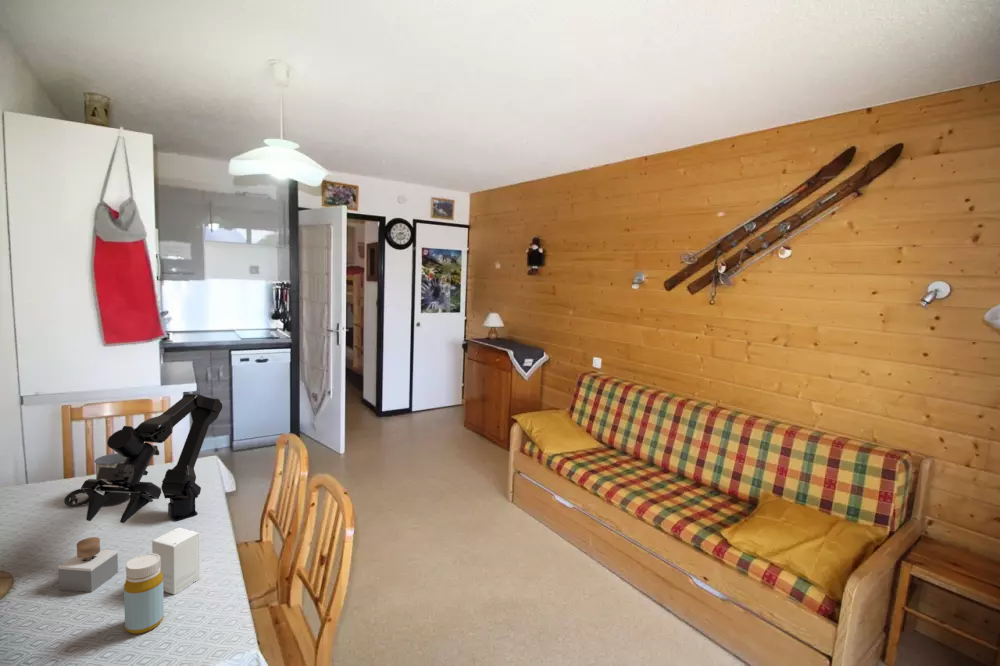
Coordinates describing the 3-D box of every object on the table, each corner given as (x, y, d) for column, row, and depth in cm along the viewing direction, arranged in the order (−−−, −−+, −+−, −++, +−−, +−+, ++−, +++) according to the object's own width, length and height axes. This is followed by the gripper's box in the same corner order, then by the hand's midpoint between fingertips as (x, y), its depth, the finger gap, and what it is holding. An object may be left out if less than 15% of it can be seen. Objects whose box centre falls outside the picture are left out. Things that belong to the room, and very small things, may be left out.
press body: (87, 570, 128) (86, 548, 127) (117, 572, 128) (117, 550, 127) (59, 589, 120) (58, 566, 119) (91, 592, 120) (90, 568, 119)
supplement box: (201, 578, 127) (200, 532, 126) (173, 595, 120) (172, 546, 119) (179, 571, 130) (179, 526, 128) (151, 588, 123) (150, 539, 121)
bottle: (138, 613, 114) (136, 552, 112) (170, 613, 114) (169, 552, 113) (117, 635, 107) (115, 570, 105) (151, 635, 107) (150, 570, 106)
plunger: (88, 570, 126) (87, 536, 125) (105, 571, 126) (104, 537, 125) (73, 580, 122) (71, 545, 121) (90, 581, 122) (89, 547, 121)
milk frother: (135, 500, 167) (134, 457, 165) (76, 517, 153) (74, 471, 152) (118, 488, 174) (116, 447, 173) (60, 503, 161) (58, 460, 160)
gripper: (83, 450, 131) (47, 509, 122) (150, 453, 130) (118, 513, 121) (111, 466, 140) (79, 523, 131) (173, 470, 139) (146, 527, 130)
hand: (104, 521), depth 128 cm, fingers open, 9 cm apart
